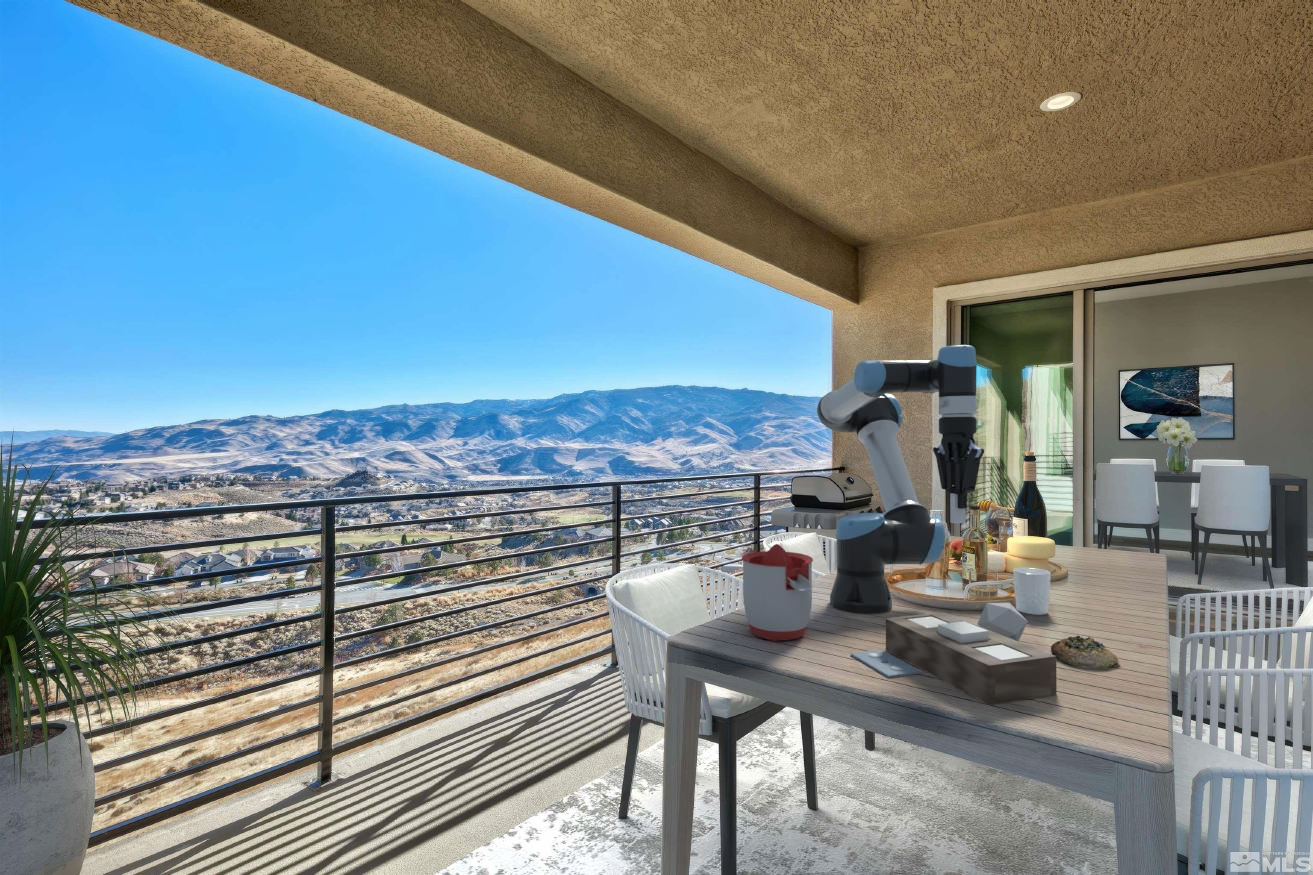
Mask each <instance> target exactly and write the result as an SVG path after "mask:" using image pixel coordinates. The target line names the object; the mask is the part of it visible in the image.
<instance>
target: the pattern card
mask: <svg viewBox="0 0 1313 875" xmlns="http://www.w3.org/2000/svg"><path fill="white" fill-rule="evenodd" d="M850 656H851V657H852V658H855V660H858V661H860V662H861V663H863V664H865V665H867V666H868V667H869V668H871V669H873V670H875V671H877V672H878V673H879V674H882V675H883V676H885V677H886V678H889V679H891V678H899V677H906V676H912V675H913V676H914V675H920V674H922V671H921V670H920V669H918V668H917V667H914V666H912V664H911V665H910V663H909V664H908V662H904V661H903V660H901V659H899V658H898V657H895V655H893V654H890V653H888V652H887V651H884V650H882V649H877V650H868V651H859V652H853V653H850Z"/></svg>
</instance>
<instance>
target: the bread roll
mask: <svg viewBox="0 0 1313 875" xmlns="http://www.w3.org/2000/svg"><path fill="white" fill-rule="evenodd" d="M1050 651H1051V653H1052V655H1055V656H1056V659H1059V661H1060V662H1063V663H1066V664H1068V665H1071V666H1073V667H1079V668H1081V669H1082V668H1083V669H1099V670H1100V669H1103V670H1104V669H1108V668H1111V667H1112V666H1114V665H1116V664H1119V663H1120V660H1119V659H1118V657H1117V655H1116V654H1115V653H1113V652H1111V650H1109V649H1108V648H1106V646H1105V645H1104V644H1103V643H1101V642H1099V641H1097V640H1096V641H1095V638H1093V637H1091V636H1088V637H1086V638H1085V637H1083V636H1080V635H1079V634H1078V635H1076V636H1068V638H1063V639H1061V640H1057V641H1056V642H1054V643H1053V644H1051V646H1050Z"/></svg>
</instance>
